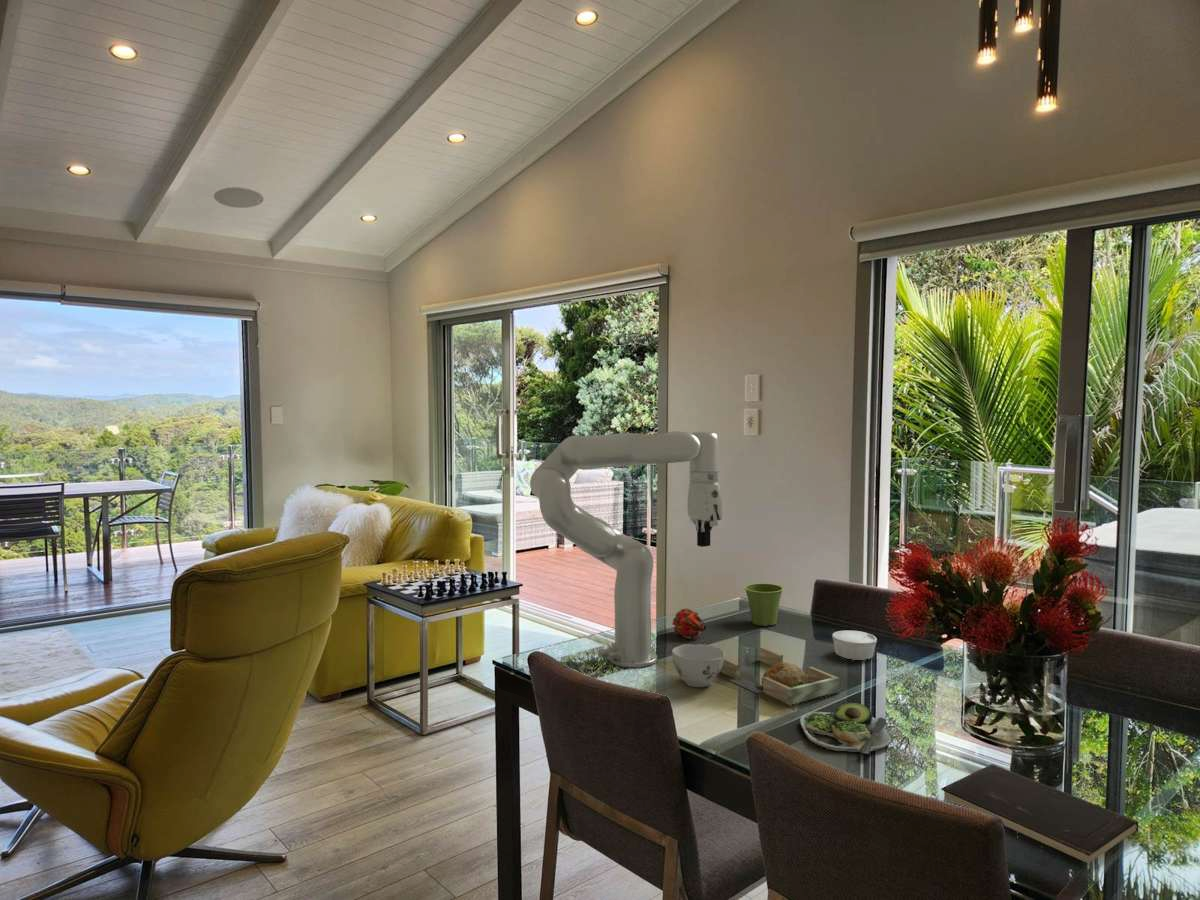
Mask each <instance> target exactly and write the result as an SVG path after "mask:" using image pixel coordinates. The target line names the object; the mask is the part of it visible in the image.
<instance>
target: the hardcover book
mask: <svg viewBox="0 0 1200 900" xmlns="http://www.w3.org/2000/svg"><path fill="white" fill-rule="evenodd" d="M941 791H943V792H944V793H943V794H944V796H943V799H945V798H946V800H948V801H950V802H952V801H953V802H952V803H955V804H957V805H959V806H961V805H963V806H966V807H969V808H973V809H976V810H979V811H981V812H985V813H988V814H992V815H995V816H997V817H998V818H1000V819H1001V820H1002V822H1003V823H1004V825H1003V826H1005V827H1006V828H1009V829H1012V830H1014V831H1016V832H1018V833H1021V834H1023V835H1025V836H1026V837H1029V838H1031V839H1033V840H1035V841H1038V842H1040V843H1042V844H1044V845H1047V846H1049V847H1051V848H1054V849H1056V850H1058V851H1060V852H1062V853H1065V854H1066V855H1069V856H1071V857H1073V858H1076V859H1077V860H1080V861H1081V862H1084V863H1087V864H1091V863H1092V862H1093V861H1094V860H1096V859H1098V857H1100V856H1101V855H1104V854H1105V853H1106V852H1107V851H1109V850H1110V849H1112V848H1113V847H1115V846H1116V845H1117V844H1119V843H1120V842H1122V841H1124V839H1126V838H1128V837H1129V836H1131V835H1132V834H1133V833H1135V832H1139V822H1138V820H1136V819H1134V818H1131V817H1128V816H1126V815H1124V814H1120V813H1118V812H1116V811H1114V810H1110V809H1109V808H1106V807H1103V806H1100V805H1098V804H1095V803H1092V802H1090V801H1088V800H1085V799H1083V798H1080V797H1077V796H1075V795H1073V794H1069V793H1067V792H1065V791H1062V790H1060V789H1057V788H1054V787H1051V786H1050V785H1046V784H1045V783H1042V782H1039V781H1036V780H1034V779H1031V778H1029V777H1026V776H1023V775H1021V774H1019V773H1016V772H1014V771H1011V770H1009V769H1006V768H1003V767H1002V766H998V765H995V764H993V763H991V764H989V765H987V766H985V767H983V768H981V769H979V770H977V771H975V772H972V773H970V774H968V775H966V776H964V777H962V778H960V779H957V780H956V781H954V782H952V783H949V784H948V785H946V786H943V787H942V788H941ZM963 806H962V807H963Z"/></svg>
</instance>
